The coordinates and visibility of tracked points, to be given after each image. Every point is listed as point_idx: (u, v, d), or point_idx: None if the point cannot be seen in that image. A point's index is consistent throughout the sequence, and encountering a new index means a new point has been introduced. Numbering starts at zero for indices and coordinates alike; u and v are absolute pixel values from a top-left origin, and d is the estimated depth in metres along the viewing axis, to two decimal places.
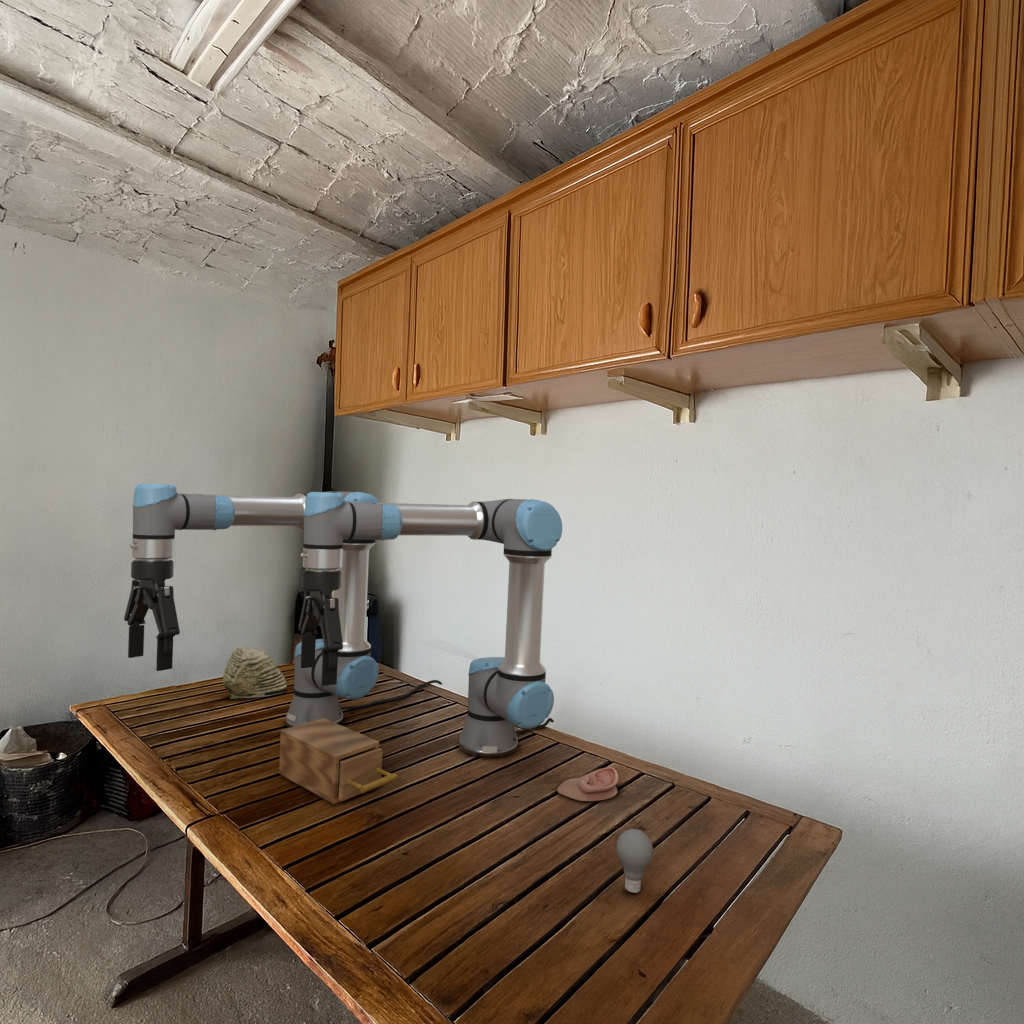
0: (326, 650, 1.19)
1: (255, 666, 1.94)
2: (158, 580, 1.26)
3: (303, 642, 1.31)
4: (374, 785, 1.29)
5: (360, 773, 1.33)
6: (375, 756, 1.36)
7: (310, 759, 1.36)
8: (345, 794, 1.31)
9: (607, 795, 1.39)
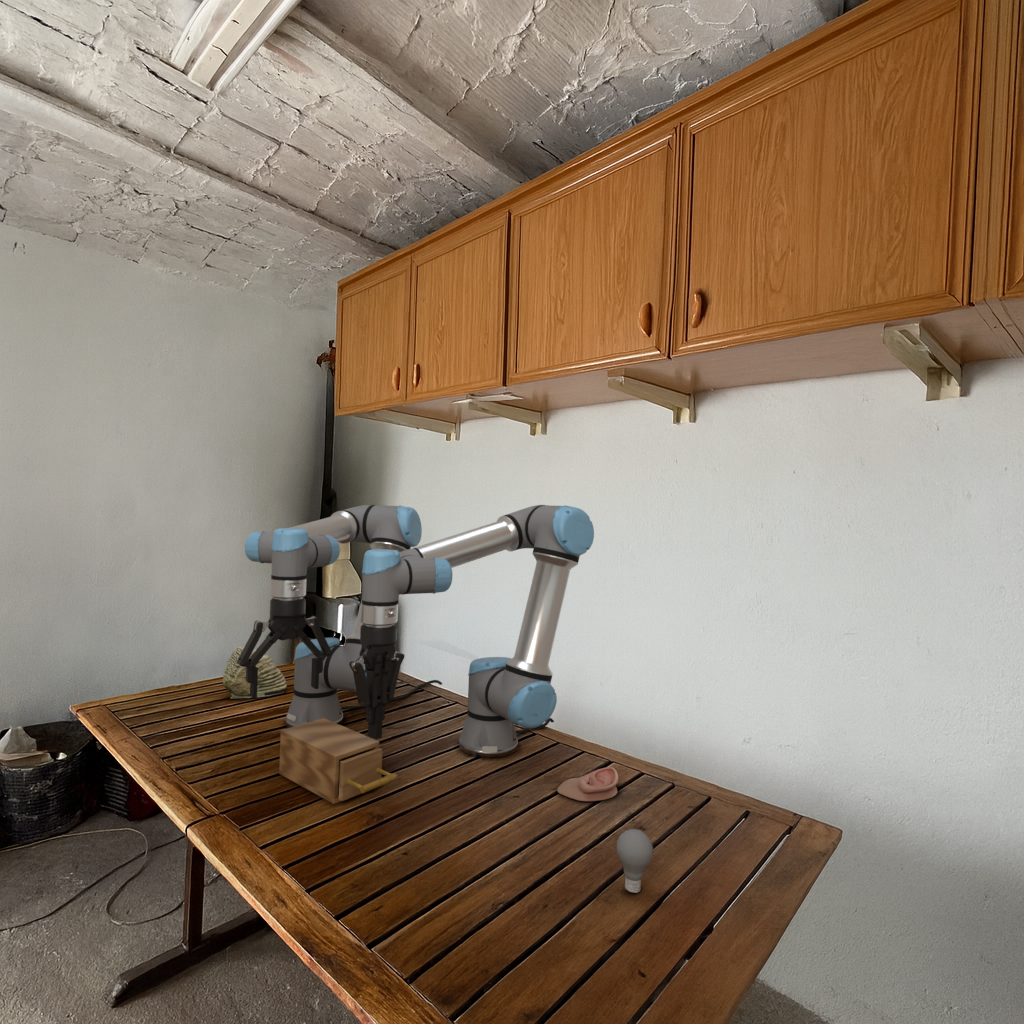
0: None
1: None
2: None
3: None
4: (374, 785, 1.29)
5: (360, 773, 1.33)
6: (375, 756, 1.36)
7: (310, 759, 1.36)
8: (345, 794, 1.31)
9: (607, 795, 1.39)
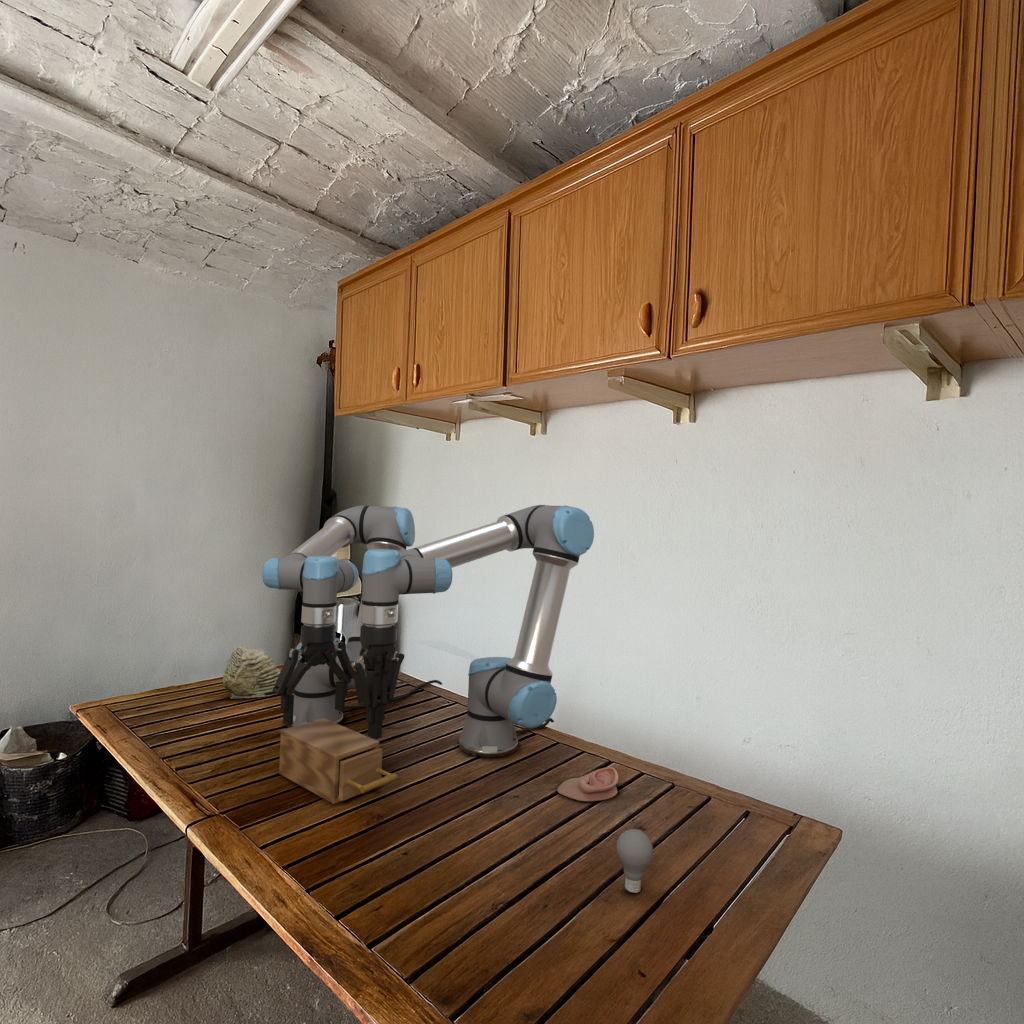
0: None
1: (255, 666, 1.94)
2: None
3: None
4: (374, 785, 1.29)
5: (360, 773, 1.33)
6: (375, 756, 1.36)
7: (310, 759, 1.36)
8: (345, 794, 1.31)
9: (607, 795, 1.39)
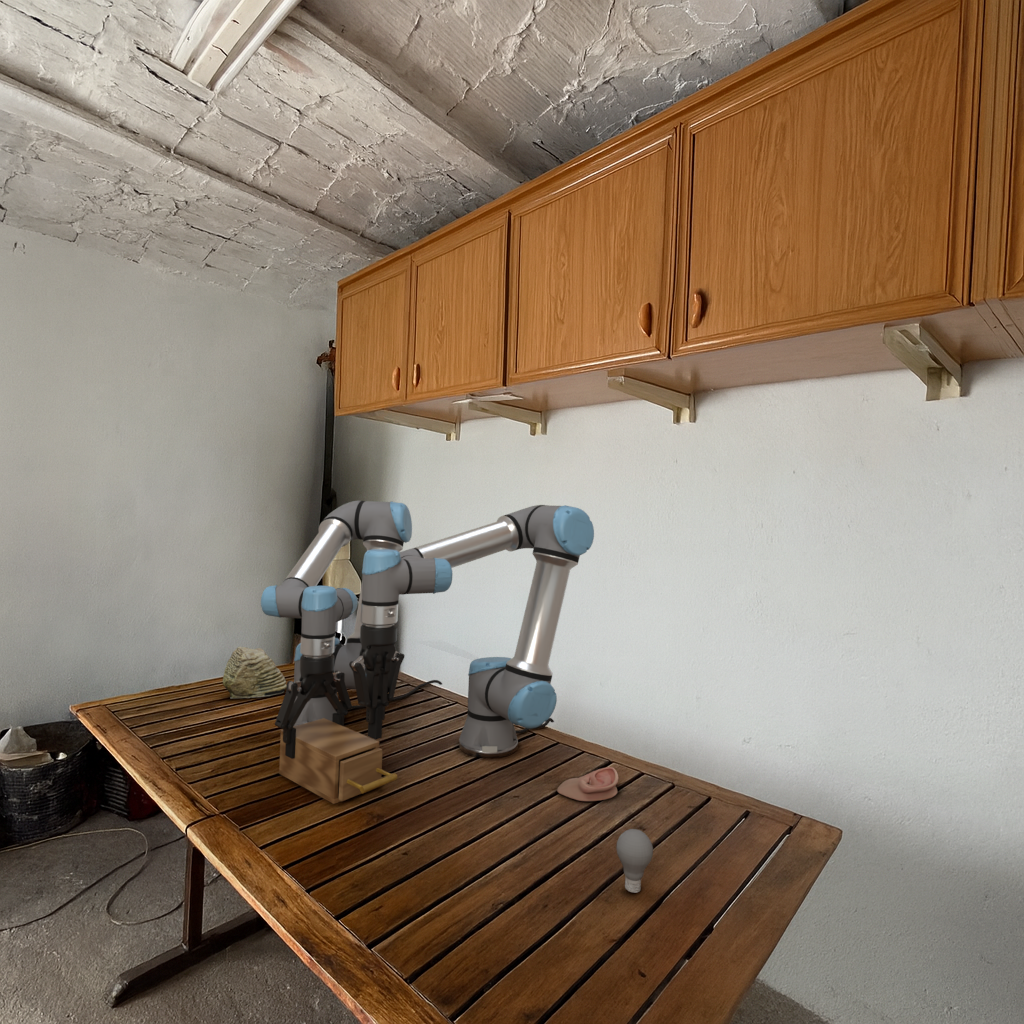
0: None
1: (255, 666, 1.94)
2: None
3: None
4: (374, 785, 1.29)
5: (360, 773, 1.33)
6: (375, 756, 1.36)
7: (310, 759, 1.36)
8: (345, 794, 1.31)
9: (607, 795, 1.39)
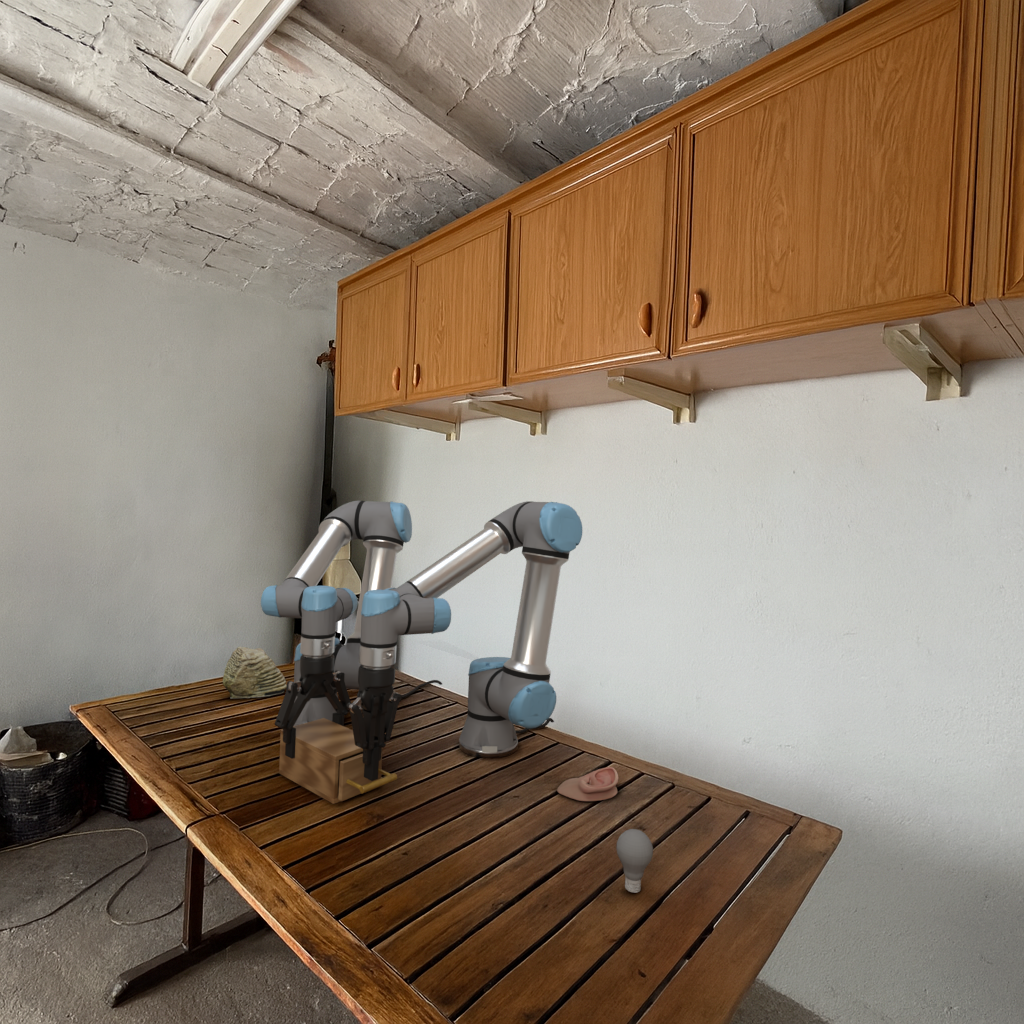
0: None
1: (255, 666, 1.94)
2: None
3: None
4: (373, 785, 1.29)
5: (359, 773, 1.33)
6: None
7: (310, 759, 1.36)
8: (345, 794, 1.31)
9: (607, 795, 1.39)
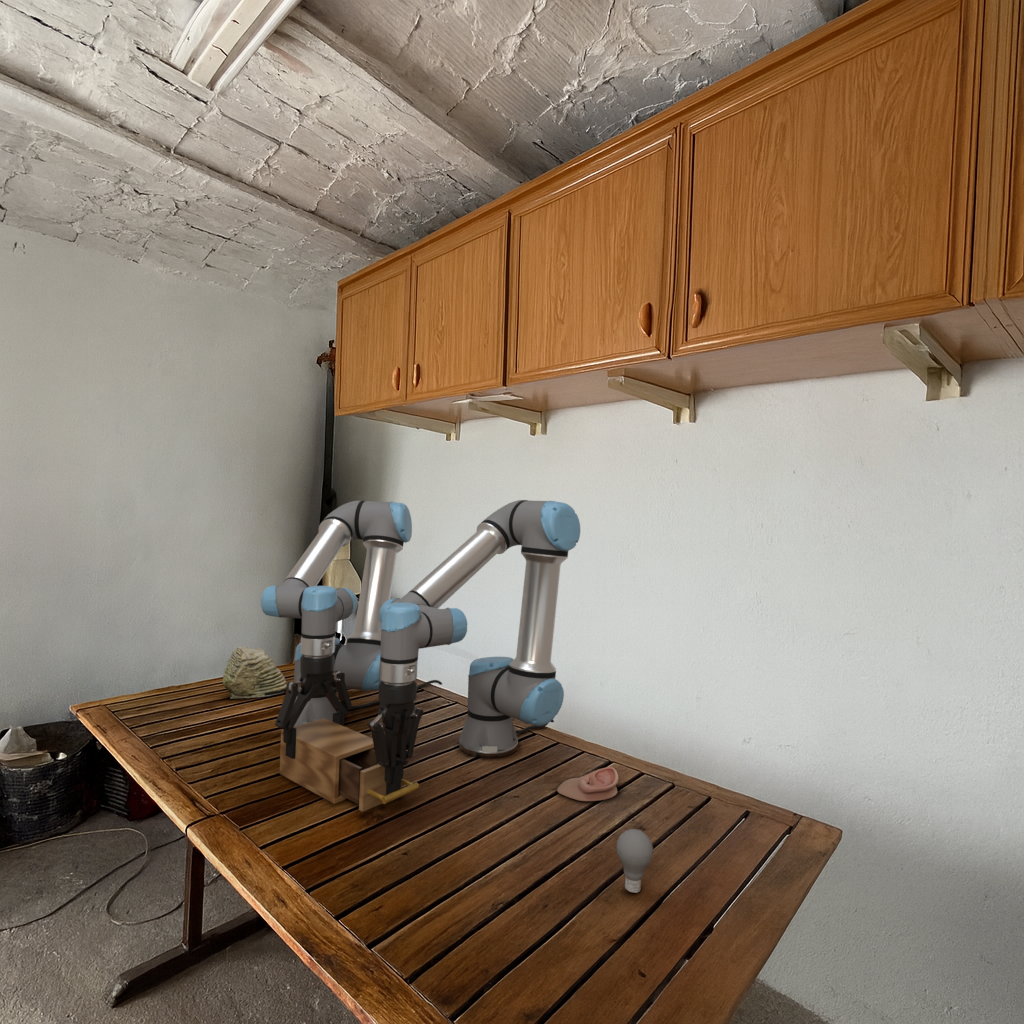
0: None
1: (255, 666, 1.94)
2: None
3: None
4: (396, 795, 1.25)
5: (380, 783, 1.29)
6: None
7: (311, 759, 1.36)
8: (366, 804, 1.27)
9: (607, 795, 1.39)
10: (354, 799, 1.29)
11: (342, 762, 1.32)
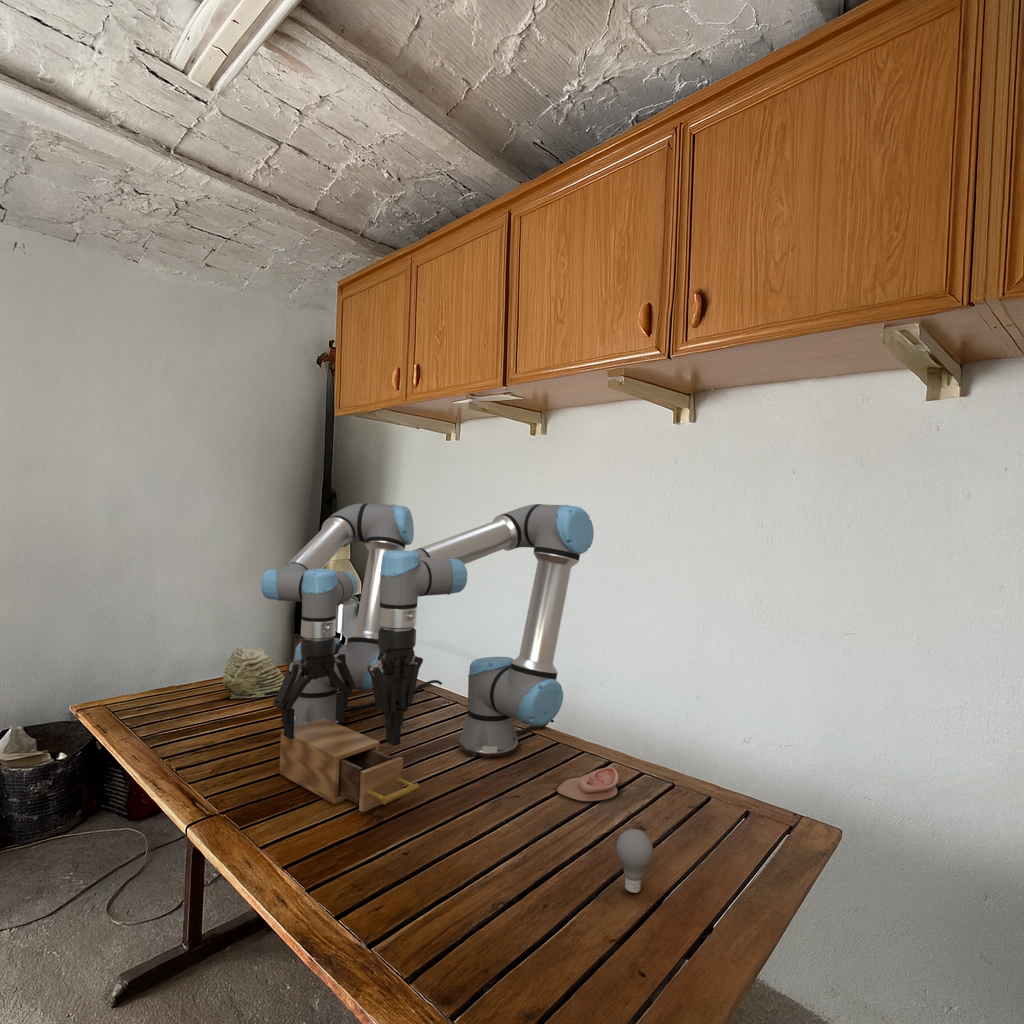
0: None
1: (255, 666, 1.94)
2: None
3: None
4: (396, 795, 1.25)
5: (380, 783, 1.29)
6: (396, 765, 1.32)
7: (311, 759, 1.36)
8: (366, 804, 1.27)
9: (607, 795, 1.39)
10: (354, 799, 1.29)
11: (342, 762, 1.32)
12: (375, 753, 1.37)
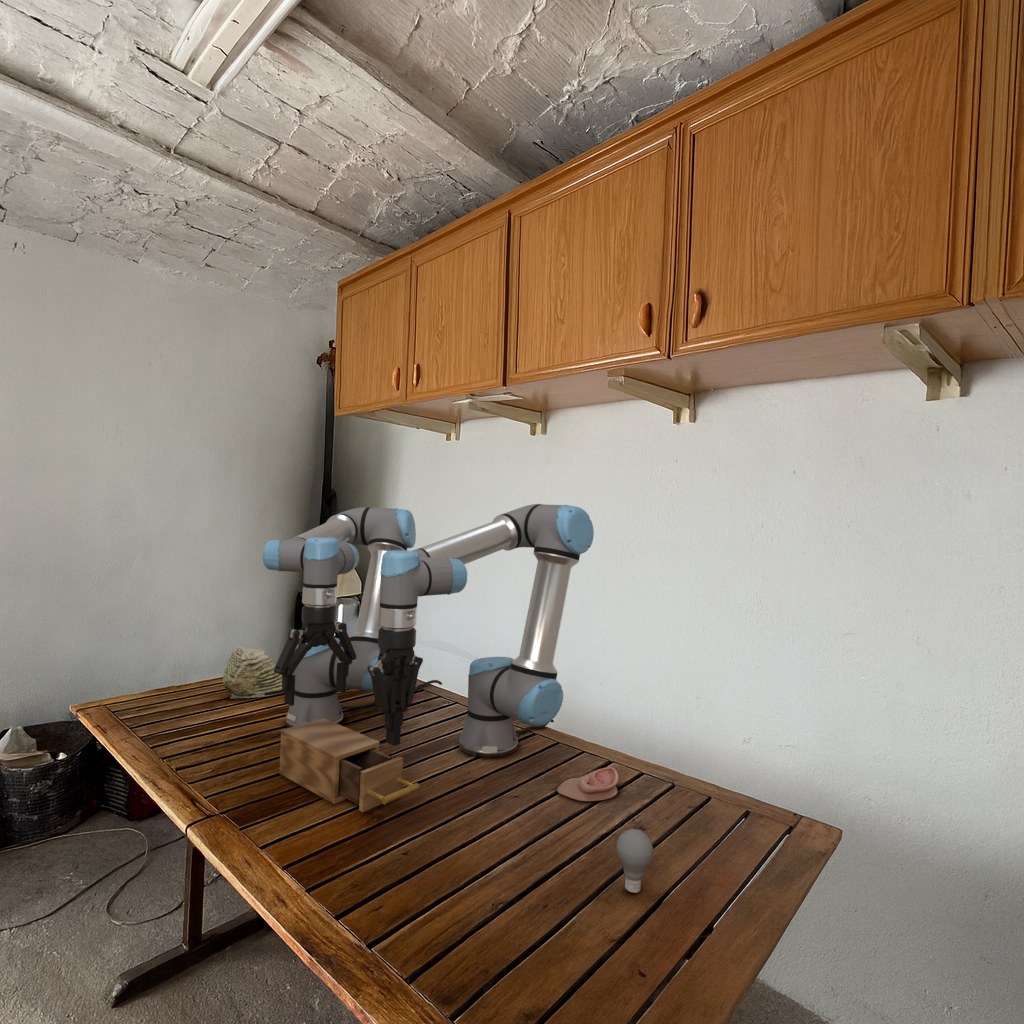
0: None
1: (255, 666, 1.94)
2: None
3: None
4: (396, 795, 1.25)
5: (380, 783, 1.29)
6: (396, 765, 1.32)
7: (311, 759, 1.36)
8: (366, 804, 1.27)
9: (607, 795, 1.39)
10: (354, 799, 1.29)
11: (342, 762, 1.32)
12: (375, 753, 1.37)
